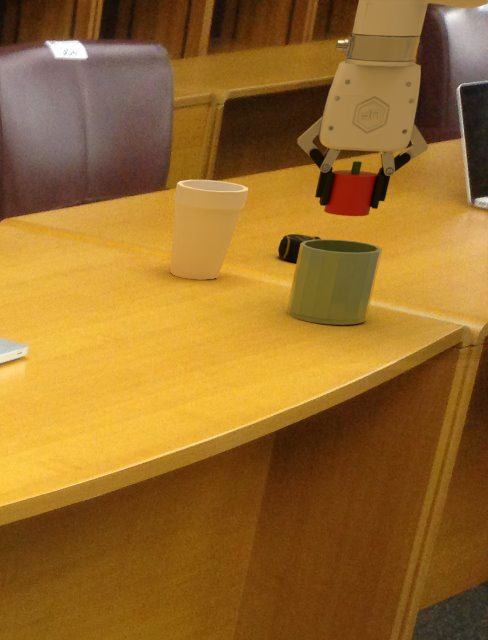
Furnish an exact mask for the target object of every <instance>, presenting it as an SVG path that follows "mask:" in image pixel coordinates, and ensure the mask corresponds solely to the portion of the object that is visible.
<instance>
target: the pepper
mask: <svg viewBox="0 0 488 640" xmlns="http://www.w3.org/2000/svg"><path fill="white" fill-rule="evenodd" d="M362 164H363V162H362V161H358V160H354V161H353V162H352V166H351V169H346V170H345V169H344V170H343V169H342V170H332V173H333V174H334V176H333V181H332V185H331V190H330V194H329V199H328V204H327V205H325V206H324V209H323V210H324V211H323V212H325V214H330V215H334V216H344V217H365V216H369V215H370V212H371V208H372V207H371V202H372V198H373V194H374V189H375V185H376V180H377V176H378V175H377V174H378V173H375V172H370V171H364V170H361V168H362Z"/></svg>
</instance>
